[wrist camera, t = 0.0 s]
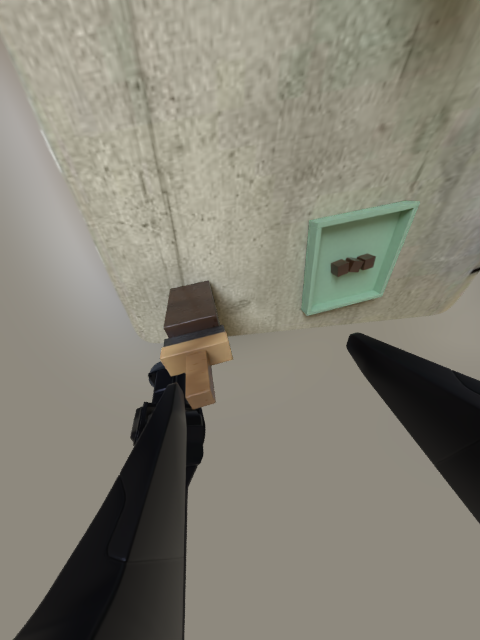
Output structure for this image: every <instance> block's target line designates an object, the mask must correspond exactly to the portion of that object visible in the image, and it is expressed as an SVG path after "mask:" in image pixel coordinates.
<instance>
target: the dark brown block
mask: <svg viewBox="0 0 480 640" xmlns="http://www.w3.org/2000/svg"><path fill="white" fill-rule="evenodd" d="M216 326H220V322H219V317H218V313H217V309H216V305H215V301H214V298H213V294H212V290H211V286H210V283H209V281H204V282H200V283H195V284H191V285H186V286H182V287H178V288H173V289H170V294H169V299H168V305H167V311H166V317H165V323H164V330H165V332H166V333H167V335H168V337H169V338H172V337H176V336H180V335H184V334H188V333H192V332H196V331H200V330H204V329H208V328H212V327H216Z"/></svg>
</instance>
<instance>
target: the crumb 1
mask: <svg viewBox="0 0 480 640" xmlns="http://www.w3.org/2000/svg"><path fill="white" fill-rule="evenodd" d="M348 269H349V262H347V261H345V260H343V259H340V260H337V261H335V262H332V263H331V273H332V274H333V275H335V276H336V277H339V276H342V275H344V274H347V273H348Z"/></svg>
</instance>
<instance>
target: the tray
mask: <svg viewBox="0 0 480 640" xmlns="http://www.w3.org/2000/svg"><path fill="white" fill-rule="evenodd" d="M419 204H420V202H418V201H401V202H396V203H392V204H387V205H382V206H377V207H372V208H367V209H362V210H358V211H353V212H348V213H343V214H338V215H333V216H328V217H324V218H319V219H314V220H309V229H308V240H307V251H306V263H305V274H304V285H303V296H302V308H301V310H302V311H303V312H304V313H305V314H306V315H307V316H309V315H312V314H316V313H320V312H324V311H328V310H332V309H336V308H339V307H343V306H347V305H351V304H355V303H359V302H363V301H366V300H370V299H374V298H378V297H382V295H383V293H384V290H385V288H386V285H387V283H388V280H389V278H390V276H391V273H392V271H393V268H394V266H395V263H396V261H397V258H398V256H399V253H400V251H401V248H402V246H403V243H404V241H405V238H406V236H407V233H408V231H409V228H410V226H411V223H412V221H413V218H414V216H415V213H416V211H417V209H418V208H417V207H418V206H419ZM367 253H368V254H370V255H373V256H376V259H375V263H374V267H373V268H370V269H367V270H361V269H360V270H359V272H358V273H357V272H348V273H347V274H344V275H342V276H339V277H336V276H335V275H333V274H332V273H331V263H332V262H335V261H337V260H340V259H343V260H346V258H347V257H350V258H357V256H360V255H364V254H367Z"/></svg>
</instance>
